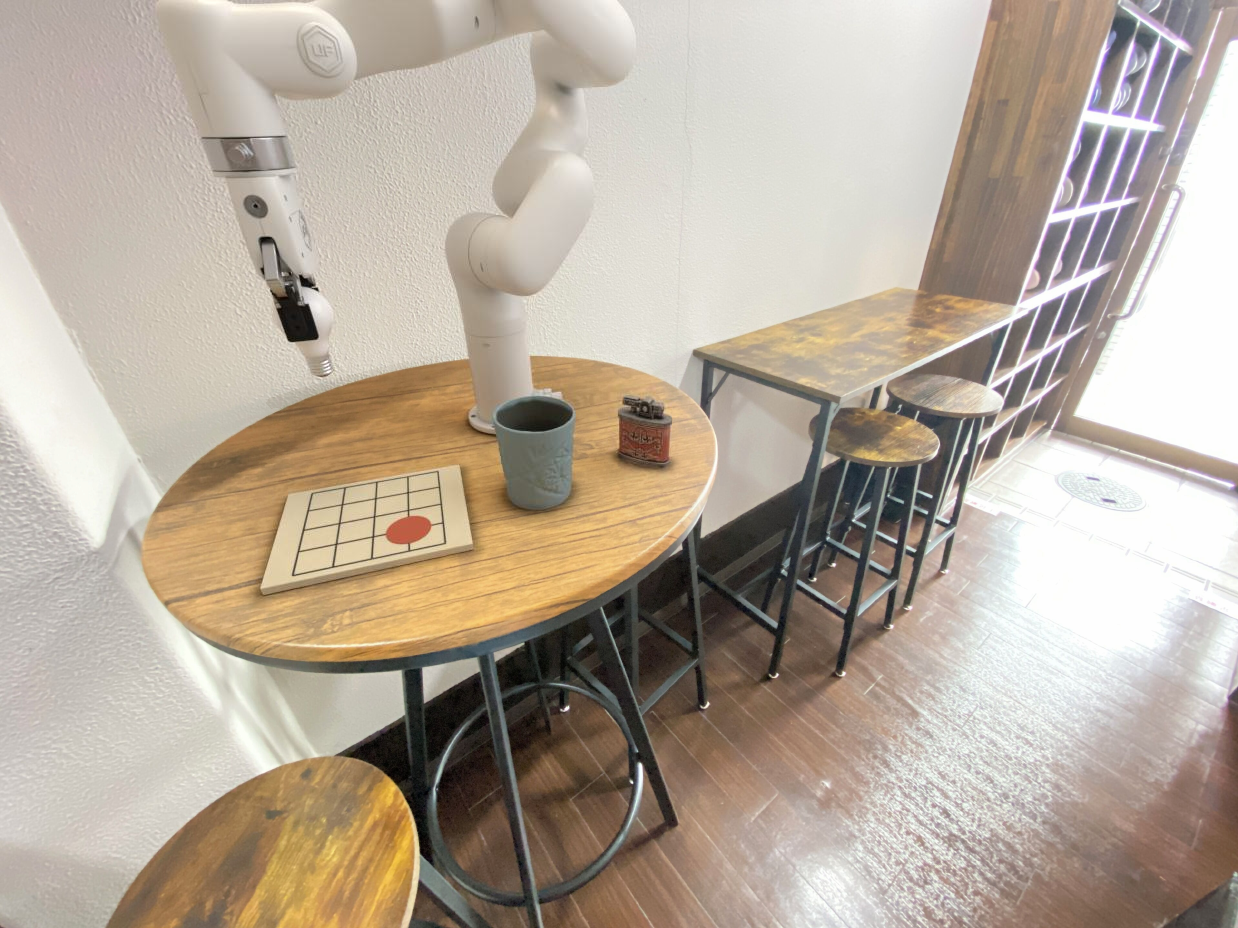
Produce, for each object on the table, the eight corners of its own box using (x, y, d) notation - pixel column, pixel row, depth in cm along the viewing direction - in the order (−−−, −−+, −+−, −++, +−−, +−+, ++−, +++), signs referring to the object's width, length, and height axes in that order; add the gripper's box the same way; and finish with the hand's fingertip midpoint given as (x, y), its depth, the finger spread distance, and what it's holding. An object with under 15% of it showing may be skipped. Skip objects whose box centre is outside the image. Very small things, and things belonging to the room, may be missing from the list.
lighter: (672, 459, 79) (676, 398, 74) (664, 471, 76) (668, 409, 71) (623, 448, 82) (623, 388, 77) (614, 458, 79) (613, 397, 74)
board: (460, 469, 77) (459, 463, 76) (473, 549, 63) (472, 542, 62) (290, 499, 71) (288, 493, 70) (263, 595, 57) (259, 588, 56)
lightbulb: (315, 391, 63) (282, 298, 57) (285, 379, 66) (251, 289, 60) (361, 372, 68) (336, 284, 62) (332, 362, 71) (305, 277, 65)
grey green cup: (496, 479, 75) (484, 402, 68) (565, 464, 78) (560, 389, 72) (514, 522, 67) (502, 439, 60) (589, 502, 70) (586, 422, 64)
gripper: (275, 163, 48) (334, 352, 58) (306, 153, 62) (349, 307, 72) (179, 165, 46) (257, 360, 56) (232, 155, 60) (287, 312, 70)
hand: (308, 329), depth 64 cm, fingers closed on lightbulb, 6 cm apart
